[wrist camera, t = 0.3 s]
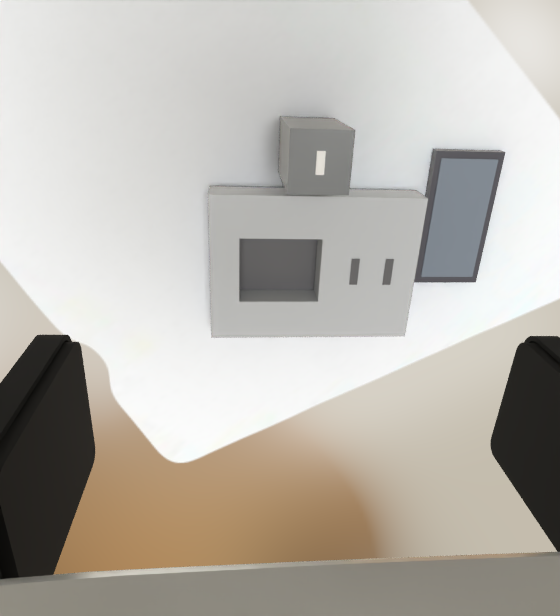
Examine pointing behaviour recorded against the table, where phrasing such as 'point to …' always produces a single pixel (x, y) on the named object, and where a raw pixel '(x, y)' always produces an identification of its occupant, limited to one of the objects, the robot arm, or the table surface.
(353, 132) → the block
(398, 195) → the outlet plate
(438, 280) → the phone
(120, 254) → the table surface
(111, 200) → the table surface
